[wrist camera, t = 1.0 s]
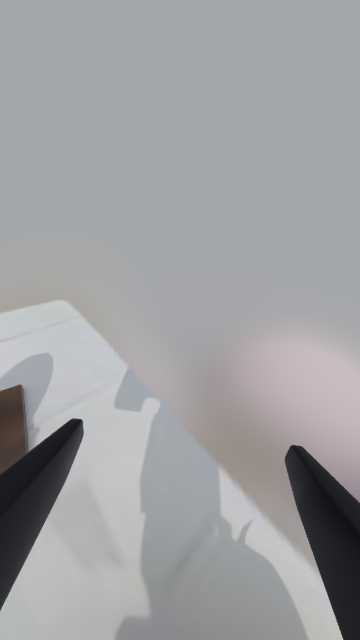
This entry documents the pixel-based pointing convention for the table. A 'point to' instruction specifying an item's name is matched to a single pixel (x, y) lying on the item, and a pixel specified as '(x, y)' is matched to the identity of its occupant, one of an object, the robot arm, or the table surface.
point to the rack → (12, 427)
